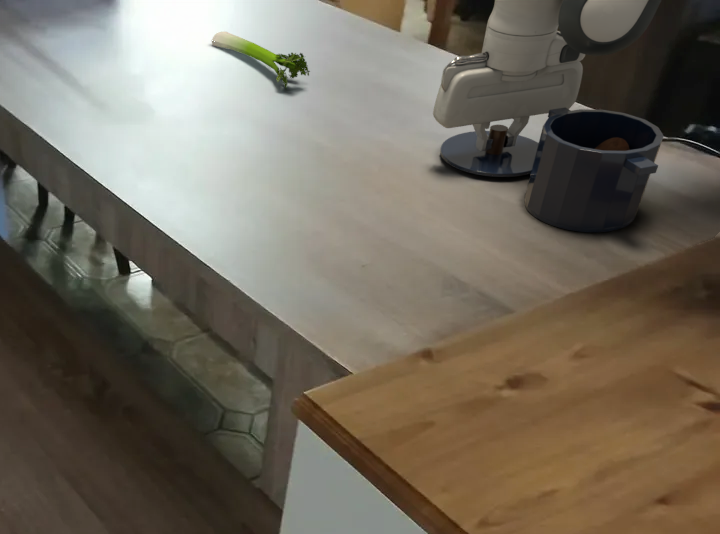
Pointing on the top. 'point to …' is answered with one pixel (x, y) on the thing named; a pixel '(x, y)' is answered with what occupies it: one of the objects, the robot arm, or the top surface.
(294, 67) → the celery stalk
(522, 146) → the lid
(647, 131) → the pot
